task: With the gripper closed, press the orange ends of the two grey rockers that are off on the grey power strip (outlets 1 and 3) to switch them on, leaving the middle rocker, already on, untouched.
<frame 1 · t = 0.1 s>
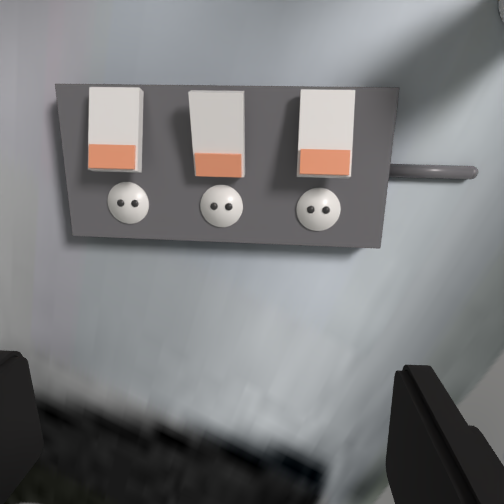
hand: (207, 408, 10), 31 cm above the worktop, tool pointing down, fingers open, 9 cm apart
outlet 3 rocker: (115, 129, 34), point 5 cm above the worktop, hinge at -14.0°
outlet 1 rocker: (325, 134, 33), point 5 cm above the worktop, hinge at -14.0°
power strip: (226, 165, 39), on the worktop
outlet 2 rocker: (218, 135, 33), point 5 cm above the worktop, hinge at 14.0°
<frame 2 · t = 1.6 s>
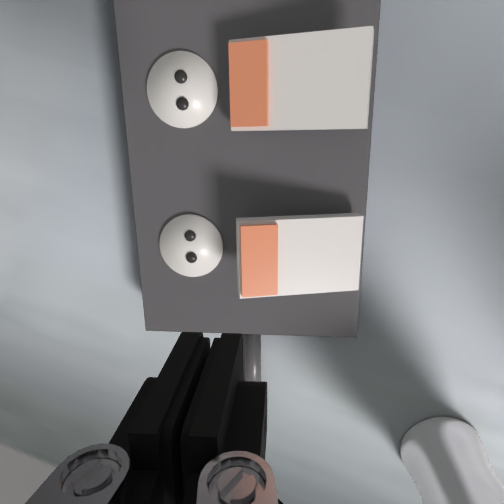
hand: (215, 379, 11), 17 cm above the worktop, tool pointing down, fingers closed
outlet 1 rocker: (299, 255, 22), point 5 cm above the worktop, hinge at -14.0°
power strip: (250, 94, 24), on the worktop
outlet 2 rocker: (297, 83, 20), point 5 cm above the worktop, hinge at 14.0°
beer glass: (438, 446, 31), on the worktop
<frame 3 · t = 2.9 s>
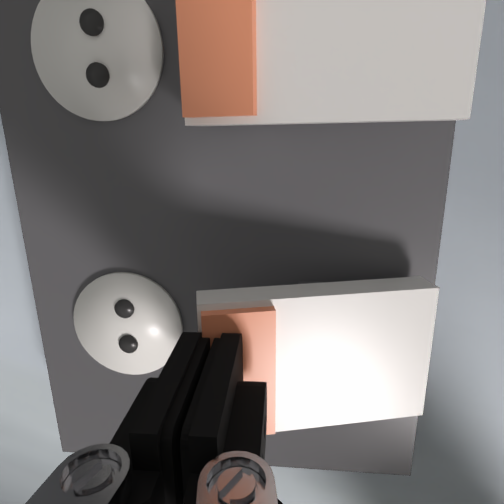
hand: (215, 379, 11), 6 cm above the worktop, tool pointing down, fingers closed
outlet 1 rocker: (316, 358, 12), point 5 cm above the worktop, hinge at -13.8°, touching gripper
power strip: (229, 64, 14), on the worktop
outlet 2 rocker: (316, 26, 9), point 5 cm above the worktop, hinge at 14.0°
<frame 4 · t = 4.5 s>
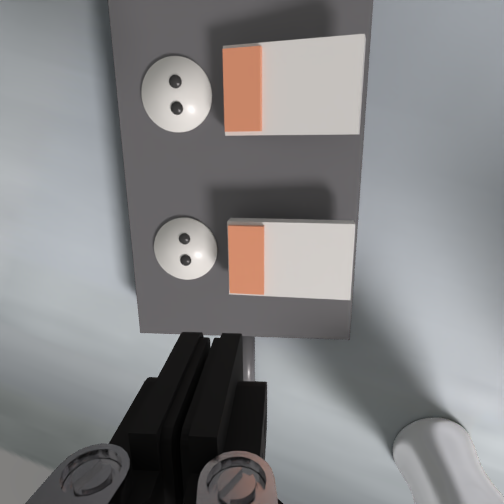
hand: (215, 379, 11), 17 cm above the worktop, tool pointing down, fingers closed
outlet 1 rocker: (289, 259, 22), point 5 cm above the worktop, hinge at 3.6°
power strip: (244, 99, 25), on the worktop
outlet 2 rocker: (290, 89, 20), point 5 cm above the worktop, hinge at 14.0°
beer glass: (430, 446, 31), on the worktop
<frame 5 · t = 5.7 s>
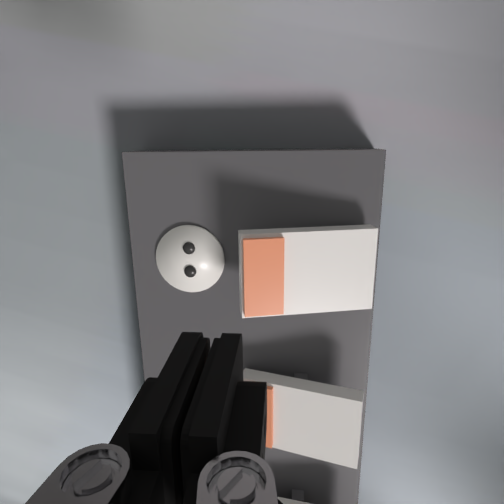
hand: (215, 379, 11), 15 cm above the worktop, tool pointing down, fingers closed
outlet 3 rocker: (307, 271, 20), point 5 cm above the worktop, hinge at -14.0°
power strip: (256, 369, 28), on the worktop
outlet 2 rocker: (298, 418, 23), point 5 cm above the worktop, hinge at 14.0°
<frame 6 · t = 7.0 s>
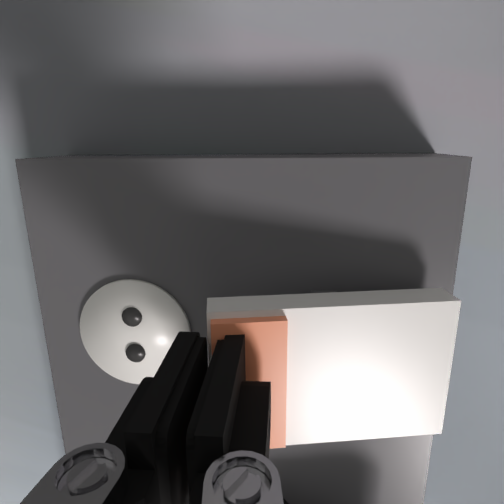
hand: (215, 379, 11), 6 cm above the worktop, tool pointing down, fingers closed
outlet 3 rocker: (330, 370, 11), point 5 cm above the worktop, hinge at -11.2°, touching gripper
power strip: (247, 474, 19), on the worktop
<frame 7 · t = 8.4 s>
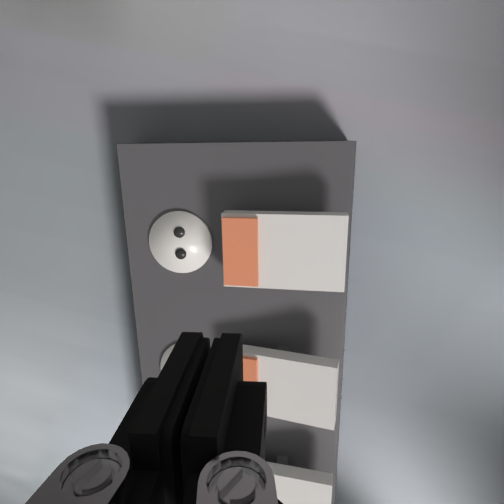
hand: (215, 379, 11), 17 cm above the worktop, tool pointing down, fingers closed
outlet 3 rocker: (283, 251, 22), point 5 cm above the worktop, hinge at 5.2°
outlet 1 rocker: (280, 496, 28), point 5 cm above the worktop, hinge at 9.5°
power strip: (243, 346, 30), on the worktop
outlet 2 rocker: (280, 386, 25), point 5 cm above the worktop, hinge at 14.0°
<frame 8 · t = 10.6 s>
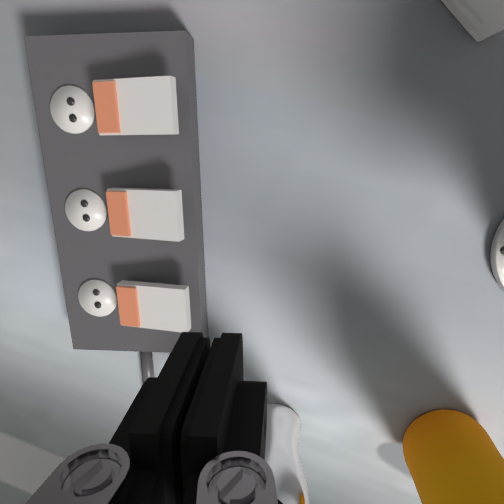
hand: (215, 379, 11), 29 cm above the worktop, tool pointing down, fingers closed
outlet 3 rocker: (135, 107, 33), point 5 cm above the worktop, hinge at 10.8°
outlet 1 rocker: (153, 306, 38), point 5 cm above the worktop, hinge at 9.7°
beer bottle: (441, 439, 45), on the worktop
power strip: (133, 205, 40), on the worktop
outlet 2 rocker: (144, 214, 35), point 5 cm above the worktop, hinge at 14.0°
beer glass: (275, 423, 46), on the worktop
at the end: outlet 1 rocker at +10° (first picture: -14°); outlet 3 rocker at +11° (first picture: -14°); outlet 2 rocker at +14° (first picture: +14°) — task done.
